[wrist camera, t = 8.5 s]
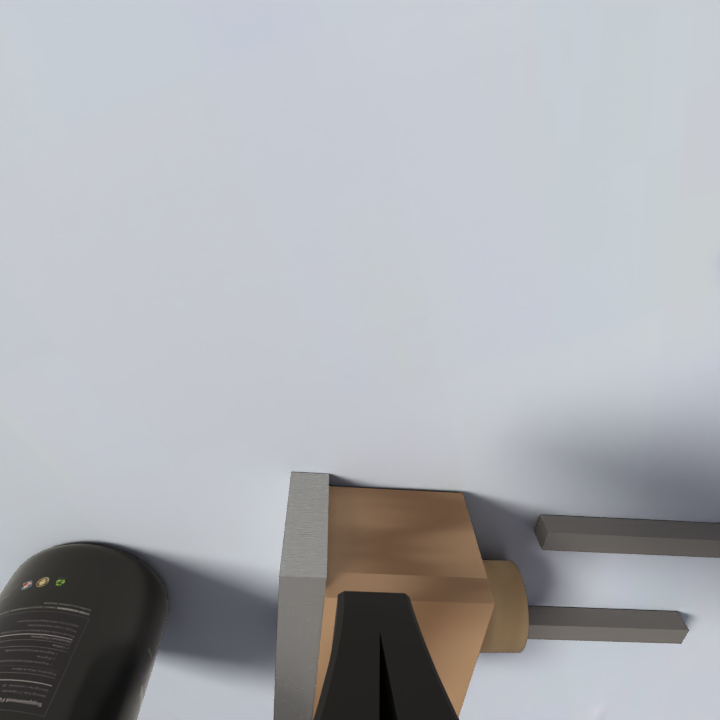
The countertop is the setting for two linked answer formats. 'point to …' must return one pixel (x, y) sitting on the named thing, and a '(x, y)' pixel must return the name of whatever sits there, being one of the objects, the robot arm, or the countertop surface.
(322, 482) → the steel backstop wall
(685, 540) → the guide rails
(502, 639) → the oak dowel
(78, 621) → the supplement bottle
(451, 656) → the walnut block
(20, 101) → the countertop surface
